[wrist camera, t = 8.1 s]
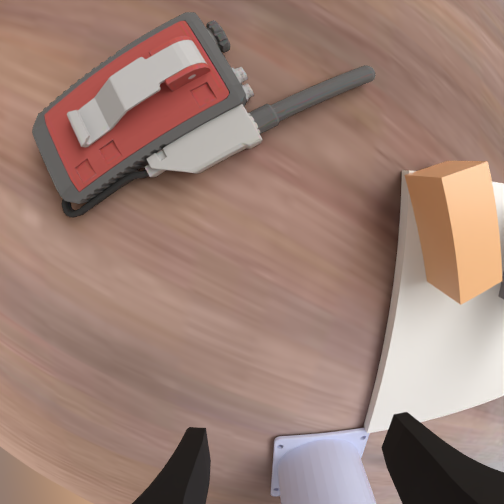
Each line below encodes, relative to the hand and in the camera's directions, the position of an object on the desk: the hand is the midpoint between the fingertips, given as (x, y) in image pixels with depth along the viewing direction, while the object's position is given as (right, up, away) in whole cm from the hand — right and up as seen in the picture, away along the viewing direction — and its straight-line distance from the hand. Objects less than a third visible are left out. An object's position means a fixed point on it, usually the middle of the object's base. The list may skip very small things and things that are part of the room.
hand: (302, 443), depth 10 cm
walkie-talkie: (-5, +16, +7) cm, 18 cm away
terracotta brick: (+10, +9, +7) cm, 15 cm away
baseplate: (+16, +3, +10) cm, 19 cm away
